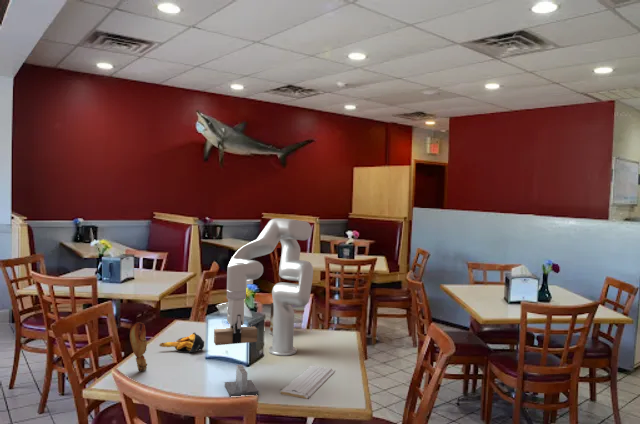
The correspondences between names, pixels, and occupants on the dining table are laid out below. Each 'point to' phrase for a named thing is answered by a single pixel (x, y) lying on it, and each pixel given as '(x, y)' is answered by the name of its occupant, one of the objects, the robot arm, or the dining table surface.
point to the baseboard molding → (308, 382)
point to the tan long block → (227, 335)
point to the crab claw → (139, 344)
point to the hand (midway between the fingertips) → (235, 340)
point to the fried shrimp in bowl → (186, 344)
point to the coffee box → (271, 319)
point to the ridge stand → (241, 384)
